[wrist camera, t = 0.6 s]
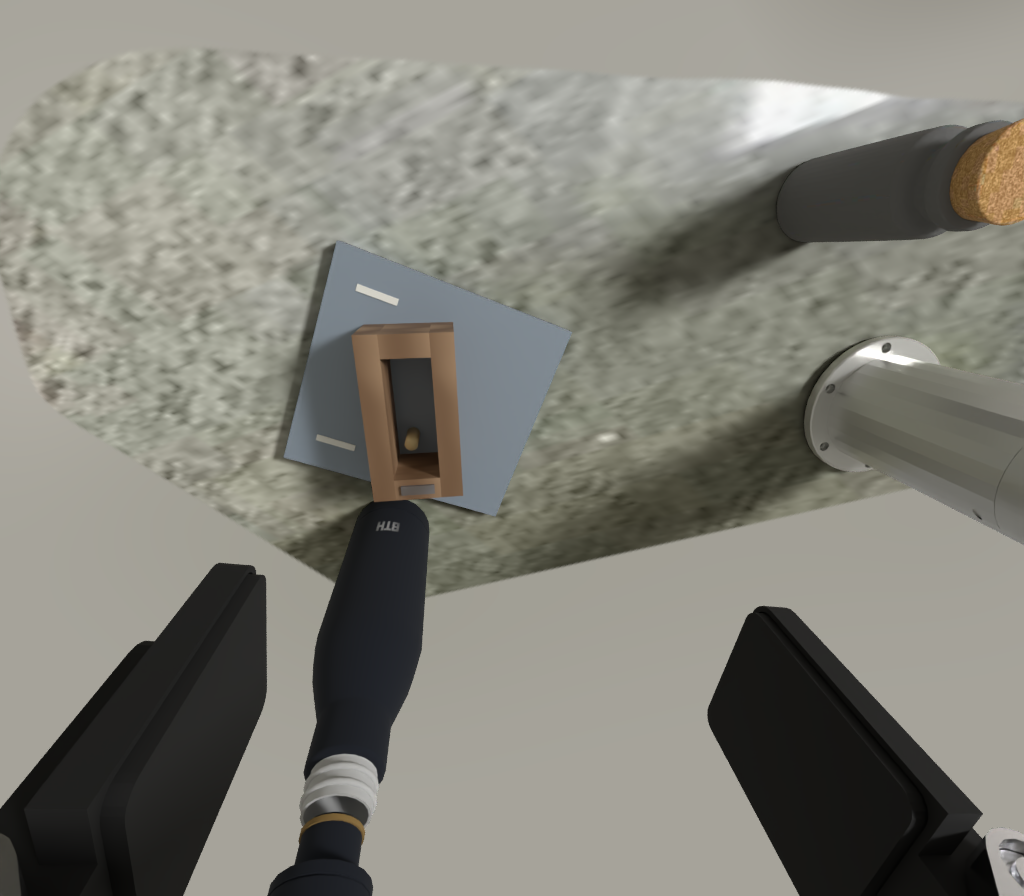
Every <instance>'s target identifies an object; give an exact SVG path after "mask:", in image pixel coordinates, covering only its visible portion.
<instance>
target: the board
mask: <svg viewBox="0 0 1024 896" xmlns="http://www.w3.org/2000/svg"><path fill="white" fill-rule="evenodd" d="M432 322H453V328H454V344H455V362H456V379H457V396H458V414H459V431H460V448H461V466H462V483H463V496H454V497H440V498H431V499H435V500H438V501H442V502H446V503H449V504H453V505H456V506H460V507H464V508H467V509H471V510H474V511H478V512H482V513H485V514H489V515H492V516H496V514H497V511H498V509H499V507H500V504H501V502H502V499H503V497H504V495H505V492H506V490H507V487H508V485H509V482H510V480H511V478H512V475H513V473H514V470H515V468H516V466H517V463H518V461H519V458H520V456H521V454H522V451H523V449H524V446H525V444H526V442H527V439H528V437H529V434H530V432H531V430H532V427H533V425H534V422H535V420H536V418H537V415H538V413H539V410H540V408H541V406H542V403H543V401H544V398H545V396H546V394H547V391H548V389H549V386H550V384H551V382H552V379H553V377H554V374H555V372H556V370H557V367H558V365H559V362H560V360H561V358H562V355H563V353H564V350H565V348H566V345H567V343H568V341H569V338H570V336H571V333H572V332H571V331H569V330H567V329H564V328H562V327H559V326H557V325H554V324H552V323H549V322H546V321H544V320H541V319H539V318H536V317H534V316H531V315H529V314H526V313H523V312H521V311H518V310H516V309H513V308H511V307H508V306H506V305H503V304H500V303H498V302H495V301H493V300H490V299H488V298H485V297H483V296H480V295H477V294H475V293H472V292H470V291H467V290H465V289H462V288H460V287H457V286H454V285H452V284H449V283H447V282H444V281H442V280H439V279H437V278H434V277H431V276H429V275H426V274H424V273H421V272H419V271H416V270H414V269H411V268H409V267H406V266H403V265H401V264H398V263H396V262H393V261H391V260H388V259H386V258H383V257H380V256H378V255H375V254H373V253H370V252H368V251H365V250H363V249H360V248H357V247H355V246H352V245H350V244H347V243H345V242H342V241H337V242H336V246H335V250H334V254H333V258H332V262H331V266H330V270H329V274H328V278H327V283H326V287H325V291H324V295H323V299H322V303H321V307H320V311H319V315H318V319H317V323H316V327H315V331H314V335H313V340H312V344H311V348H310V352H309V356H308V360H307V364H306V368H305V372H304V376H303V380H302V384H301V388H300V392H299V397H298V401H297V405H296V409H295V413H294V417H293V421H292V425H291V429H290V433H289V437H288V441H287V445H286V449H285V454H284V458H287V459H291V460H295V461H298V462H302V463H305V464H309V465H313V466H316V467H320V468H323V469H327V470H331V471H334V472H338V473H341V474H345V475H349V476H352V477H356V478H359V479H363V480H367V481H370V482H371V477H370V470H369V462H368V455H367V448H366V440H365V433H364V425H363V418H362V411H361V403H360V396H359V388H358V381H357V374H356V366H355V359H354V352H353V344H352V337H351V335H352V334H353V333H355V332H356V331H357V330H358V329H359V328H360V327H362V326H363V325H366V324H399V323H432ZM390 365H391V374H392V384H393V393H394V402H395V411H396V421H397V430H398V439H399V448H400V454H413V453H430V452H438V444H437V431H436V418H435V405H434V392H433V379H432V366H431V357H430V358H404V359H390Z"/></svg>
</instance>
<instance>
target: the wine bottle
mask: <svg viewBox="0 0 1024 896" xmlns="http://www.w3.org/2000/svg"><path fill="white" fill-rule="evenodd" d="M428 543H429V523H428V520H427V518H426V516H425V514H424V512H423V511H422V510H421V509H420V508H419V507H418V506H417V505H416V504H414V503H412V502H410V501H408V500H396V501H381V502H372V503H370V504H369V505H368V506H366V507H365V508H364V509H363V510H362V512H361V513H360V515H359V516H358V518H357V521H356V524H355V527H354V530H353V533H352V536H351V539H350V542H349V545H348V548H347V551H346V554H345V557H344V560H343V563H342V566H341V569H340V572H339V575H338V577H337V580H336V583H335V587H334V589H333V592H332V595H331V599H330V601H329V604H328V607H327V610H326V613H325V616H324V619H323V622H322V625H321V628H320V631H319V634H318V637H317V642H316V647H315V656H314V664H313V692H314V702H315V710H316V718H317V724H316V728H315V732H314V735H313V739H312V742H311V746H310V750H309V753H308V757H307V761H306V765H305V769H304V776H305V780H306V782H305V786H304V794H303V795H302V797H301V801H300V805H299V806H300V810H301V816H300V820H301V823H302V826H303V828H302V829H301V833H300V837H299V848H298V852H297V857H296V861H295V865H293V866H290V867H289V868H287V869H286V870H284V871H283V872H281V873H280V874H278V875H277V877H276V878H275V880H273V882H272V883H271V885H270V888H269V893H268V895H267V896H372V891H373V885H372V880H371V877H370V876H369V875H368V874H367V873H366V871H365V870H364V869H362V868H360V867H359V866H358V865H359V857H360V851H361V845H362V843H363V840H364V835H365V830H364V828H365V827H366V826H367V825H368V824H369V822H370V819H371V816H372V814H373V813H374V811H375V808H376V805H377V800H376V796H377V792H378V789H379V784H380V783H381V781H382V780H383V777H384V774H385V770H386V763H387V754H388V746H389V738H390V729H391V726H392V724H393V722H394V720H395V718H396V717H397V714H398V713H399V711H400V709H401V707H402V704H403V703H404V701H405V699H406V697H407V695H408V692H409V689H410V686H411V683H412V681H413V678H414V674H415V671H416V668H417V664H418V661H419V657H420V654H421V650H422V635H423V619H424V604H425V589H426V574H427V559H428Z"/></svg>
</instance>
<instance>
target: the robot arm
mask: <svg viewBox="0 0 1024 896" xmlns="http://www.w3.org/2000/svg"><path fill="white" fill-rule="evenodd" d="M804 429H805V437H806V439H807V442H808V445H809V447H810V448H811V450H812V451H813V453H814V454H815V455H816V456H817V457H818V458H819V459H820V460H821V461H823V462H825V463H826V464H828V465H830V466H831V467H834V468H836V469H839V470H842V471H848V472H862V471H868V470H872V469H876V470H878V471H880V472H882V473H884V474H886V475H888V476H890V477H891V478H893V479H895V480H897V481H899V482H901V483H903V484H905V485H907V486H909V487H911V488H913V489H915V490H917V491H919V492H921V493H923V494H925V495H927V496H929V497H931V498H933V499H935V500H937V501H939V502H941V503H943V504H944V505H947V506H948V507H950V508H952V509H954V510H956V511H958V512H960V513H962V514H964V515H966V516H968V517H970V518H972V519H974V520H976V521H978V522H980V523H982V524H984V525H986V526H988V527H990V528H992V529H994V530H996V531H997V532H999V533H1001V534H1003V535H1005V536H1007V537H1009V538H1011V539H1013V540H1015V541H1017V542H1019V543H1021V544H1023V545H1024V384H1019V383H1015V382H1011V381H1006V380H1002V379H998V378H993V377H989V376H985V375H981V374H976V373H972V372H968V371H963V370H959V369H955V368H950V367H946V366H942V365H940V363H939V360H938V358H937V356H936V355H935V354H934V353H933V351H932V350H931V349H930V348H929V347H928V346H926V345H924V344H923V343H921V342H920V341H917V340H914V339H910V338H906V337H900V336H881V337H877V338H873V339H869V340H866V341H864V342H862V343H859V344H857V345H855V346H854V347H852V348H850V349H849V350H847V351H846V352H844V353H843V354H842V355H840V356H839V357H838V358H837V359H836V360H835V361H833V362H832V363H831V365H830V366H829V367H828V368H827V369H826V370H825V371H824V373H823V374H822V375H821V377H820V378H819V380H818V381H817V383H816V384H815V386H814V388H813V390H812V392H811V395H810V397H809V399H808V403H807V406H806V410H805V417H804ZM266 653H267V652H266V578H265V576H264V575H256V570H255V568H254V567H253V566H251V565H239V564H226V563H218V564H216V565H215V566H214V567H213V568H212V569H211V570H210V571H209V573H208V574H207V575H206V577H205V578H204V579H203V580H202V582H201V583H200V584H199V585H198V587H197V588H196V589H195V591H194V592H193V593H192V594H191V596H190V597H189V598H188V600H187V601H186V602H185V603H184V605H183V606H182V607H181V608H180V610H179V611H178V612H177V614H176V615H175V616H174V617H173V619H172V620H171V621H170V623H169V624H168V625H167V626H166V628H165V629H164V630H163V632H162V633H161V634H160V635H159V637H158V638H157V639H156V641H143V642H141V643H139V644H137V645H136V646H135V647H134V648H133V649H132V650H131V651H130V652H129V653H128V654H127V656H126V657H125V658H124V659H123V660H122V662H121V663H120V664H119V665H118V667H117V668H116V669H115V670H114V671H113V673H112V674H111V675H110V676H109V678H108V679H107V680H106V681H105V682H104V683H103V685H102V686H101V687H100V688H99V690H98V691H97V692H96V693H95V694H94V696H93V697H92V698H91V699H90V701H89V702H88V703H87V704H86V705H85V707H84V708H83V709H82V710H81V711H80V713H79V714H78V715H77V716H76V718H75V719H74V720H73V721H72V722H71V724H70V725H69V726H68V727H67V728H66V730H65V731H64V732H63V733H62V735H61V736H60V737H59V738H58V739H57V741H56V742H55V743H54V744H53V745H52V747H51V748H50V749H49V750H48V752H47V753H46V754H45V755H44V757H43V758H42V759H41V760H40V761H39V762H38V764H37V765H36V766H35V767H34V769H33V770H32V771H31V772H30V773H29V775H28V776H27V777H26V778H25V780H24V781H23V782H22V783H21V784H20V785H19V787H18V788H17V789H16V790H15V792H14V793H13V794H12V795H11V797H10V798H9V799H8V800H7V801H6V802H5V804H4V805H3V806H2V807H1V809H0V896H183V894H184V892H185V890H186V887H187V885H188V883H189V880H190V878H191V876H192V873H193V871H194V869H195V866H196V864H197V862H198V859H199V857H200V855H201V852H202V850H203V848H204V845H205V843H206V841H207V838H208V836H209V834H210V831H211V829H212V827H213V824H214V822H215V820H216V817H217V815H218V812H219V809H220V808H221V805H222V803H223V801H224V799H225V796H226V794H227V791H228V789H229V787H230V784H231V782H232V780H233V777H234V775H235V773H236V770H237V768H238V766H239V764H240V761H241V759H242V757H243V754H244V752H245V750H246V747H247V745H248V743H249V740H250V738H251V736H252V733H253V731H254V729H255V726H256V724H257V722H258V719H259V717H260V715H261V712H262V709H263V706H264V702H265V698H266V692H267V667H266V666H267V658H266V657H267V655H266ZM708 722H709V725H710V728H711V730H712V732H713V734H714V736H715V738H716V739H717V741H718V743H719V745H720V747H721V749H722V751H723V753H724V755H725V756H726V758H727V760H728V762H729V764H730V766H731V768H732V770H733V771H734V773H735V775H736V777H737V779H738V781H739V783H740V784H741V786H742V788H743V790H744V792H745V794H746V796H747V798H748V800H749V801H750V803H751V805H752V807H753V809H754V811H755V813H756V815H757V817H758V818H759V820H760V822H761V824H762V826H763V827H764V830H765V832H766V833H767V835H768V837H769V839H770V841H771V843H772V845H773V847H774V848H775V850H776V852H777V854H778V856H779V858H780V860H781V861H782V864H783V865H784V867H785V869H786V871H787V873H788V875H789V877H790V878H791V880H792V882H793V884H794V886H795V888H796V890H797V892H798V894H799V896H1024V834H1023V833H1021V832H1019V831H1015V830H1012V829H1007V828H1003V827H1001V828H992V829H991V830H990V831H989V832H988V833H987V834H986V835H985V837H984V838H983V839H982V838H981V837H980V836H979V835H978V834H977V833H976V831H975V830H974V829H973V828H972V827H973V826H974V825H975V823H976V822H977V821H978V820H979V818H980V817H981V815H982V814H983V813H982V812H981V811H980V810H979V809H978V808H977V807H976V806H975V805H974V804H973V803H972V802H971V801H970V799H969V798H968V797H967V796H966V795H965V794H964V793H963V792H962V791H961V790H960V789H959V788H958V787H957V786H956V785H955V783H954V782H953V781H952V780H951V779H950V778H949V777H948V776H947V775H946V774H945V773H944V772H943V771H942V770H941V768H940V767H938V765H937V764H935V762H934V761H933V760H932V759H931V758H930V757H929V756H928V755H927V754H926V752H925V751H924V750H923V749H922V748H921V747H920V746H919V745H918V744H917V743H916V742H915V741H914V740H913V739H912V737H911V736H909V734H908V733H907V732H906V731H905V730H904V729H903V728H902V727H901V726H900V725H899V724H898V723H897V721H896V720H895V719H894V718H893V717H892V716H891V715H890V714H889V713H888V712H887V711H886V710H885V709H884V708H883V707H882V706H881V705H880V703H879V702H878V701H877V700H876V699H875V698H874V697H873V696H872V695H871V694H870V693H869V692H868V691H867V689H866V688H865V687H864V686H863V685H862V684H861V683H860V682H859V681H858V680H857V679H856V678H855V677H854V676H853V674H852V673H851V672H850V671H849V670H848V669H847V668H846V667H845V666H844V665H843V664H842V663H841V662H840V661H839V660H838V658H837V657H836V656H835V655H834V654H833V653H832V652H831V651H830V650H829V649H828V648H827V647H826V646H825V645H824V644H823V642H821V640H820V639H819V638H818V637H817V636H816V635H815V634H814V633H813V632H812V631H811V630H810V629H809V628H808V626H807V625H806V624H805V623H804V622H803V621H802V620H801V619H800V618H799V617H798V616H797V615H796V614H795V613H794V612H793V611H792V610H791V609H788V608H782V607H769V606H759V607H757V608H756V609H755V610H754V611H753V613H750V614H749V615H748V616H747V618H746V620H745V622H744V624H743V627H742V629H741V631H740V634H739V636H738V639H737V641H736V643H735V646H734V648H733V650H732V653H731V655H730V657H729V660H728V662H727V664H726V667H725V669H724V672H723V674H722V676H721V679H720V681H719V683H718V686H717V688H716V690H715V693H714V695H713V698H712V700H711V703H710V705H709V707H708Z"/></svg>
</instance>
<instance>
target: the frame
mask: <svg viewBox="0 0 1024 896" xmlns="http://www.w3.org/2000/svg"><path fill="white" fill-rule="evenodd" d="M351 337H352V344H353V352H354V359H355V366H356V374H357V381H358V388H359V396H360V403H361V411H362V418H363V425H364V433H365V440H366V448H367V455H368V462H369V470H370V477H371V484H372V492H373V499H374V502H381V501H396V500H411V499H425V498H440V497H454V496H463V483H462V466H461V448H460V431H459V414H458V396H457V379H456V362H455V344H454V328H453V322H432V323H399V324H366V325H363V326H362V327H360V328H359V329H358V330H357V331H356V332H355V333H353V334H352V335H351ZM430 357H431V366H432V379H433V392H434V405H435V418H436V431H437V444H438V452H430V453H413V454H400V448H399V439H398V430H397V421H396V411H395V402H394V393H393V384H392V374H391V365H390V359H404V358H430Z"/></svg>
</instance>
